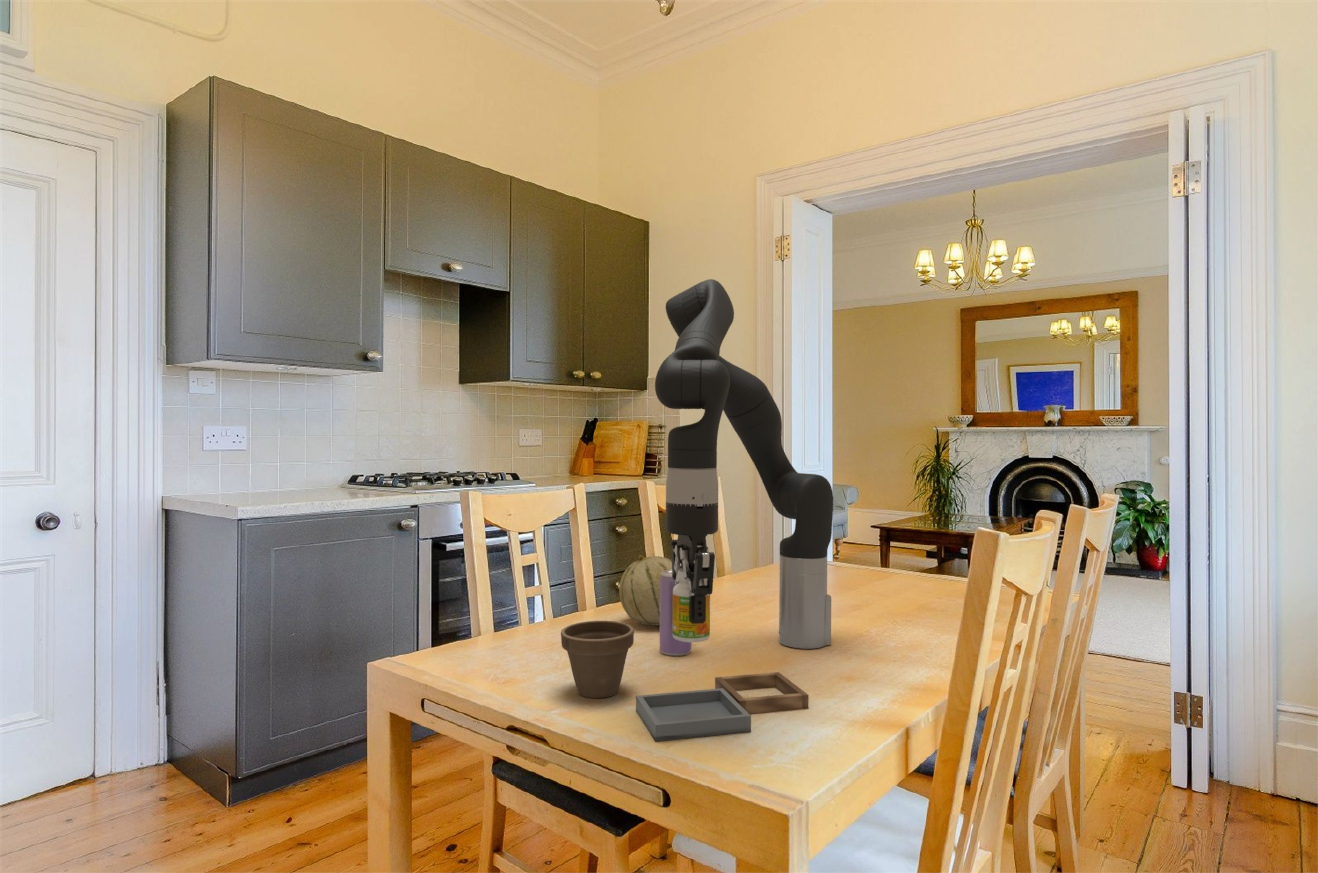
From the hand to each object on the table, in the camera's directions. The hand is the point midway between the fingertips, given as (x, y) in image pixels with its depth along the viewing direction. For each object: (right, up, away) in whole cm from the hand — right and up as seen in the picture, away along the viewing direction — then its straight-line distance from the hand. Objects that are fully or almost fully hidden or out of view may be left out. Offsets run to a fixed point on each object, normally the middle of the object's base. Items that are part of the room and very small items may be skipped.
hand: (691, 617), depth 109 cm
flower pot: (-14, -15, +12) cm, 24 cm away
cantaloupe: (-6, -15, +54) cm, 56 cm away
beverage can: (-2, -15, +34) cm, 37 cm away
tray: (0, -15, 0) cm, 15 cm away
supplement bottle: (0, -3, 0) cm, 3 cm away
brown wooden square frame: (+11, -15, +9) cm, 21 cm away
